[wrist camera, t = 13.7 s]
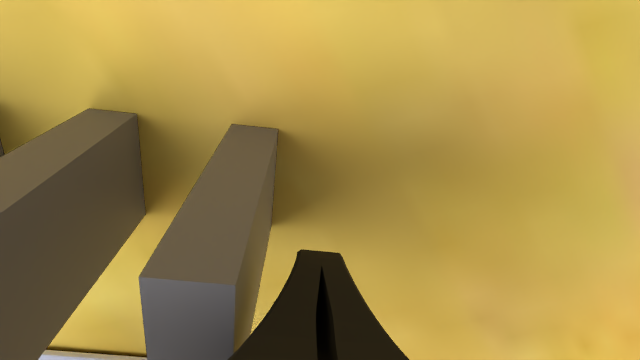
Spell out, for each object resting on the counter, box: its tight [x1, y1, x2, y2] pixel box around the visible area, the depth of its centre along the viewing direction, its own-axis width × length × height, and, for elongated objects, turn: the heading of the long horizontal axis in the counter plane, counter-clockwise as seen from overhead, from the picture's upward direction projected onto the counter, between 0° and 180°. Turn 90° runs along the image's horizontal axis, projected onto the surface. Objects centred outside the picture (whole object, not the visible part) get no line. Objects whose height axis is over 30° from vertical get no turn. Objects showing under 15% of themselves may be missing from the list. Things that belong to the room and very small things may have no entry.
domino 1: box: [0, 109, 146, 360], centre depth 14 cm, size 5×2×10 cm, turn 173°
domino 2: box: [139, 124, 278, 360], centre depth 14 cm, size 5×2×10 cm, turn 173°
